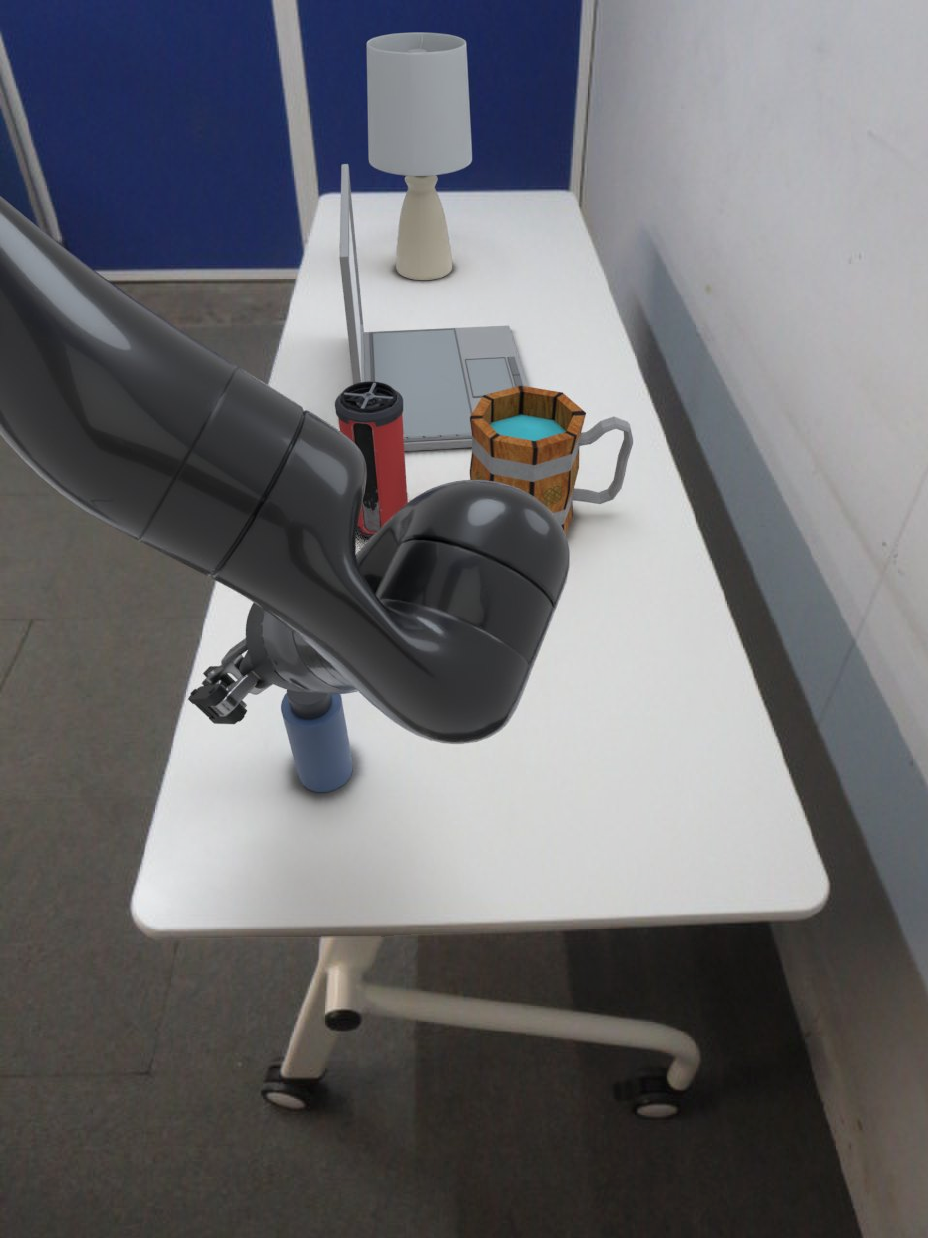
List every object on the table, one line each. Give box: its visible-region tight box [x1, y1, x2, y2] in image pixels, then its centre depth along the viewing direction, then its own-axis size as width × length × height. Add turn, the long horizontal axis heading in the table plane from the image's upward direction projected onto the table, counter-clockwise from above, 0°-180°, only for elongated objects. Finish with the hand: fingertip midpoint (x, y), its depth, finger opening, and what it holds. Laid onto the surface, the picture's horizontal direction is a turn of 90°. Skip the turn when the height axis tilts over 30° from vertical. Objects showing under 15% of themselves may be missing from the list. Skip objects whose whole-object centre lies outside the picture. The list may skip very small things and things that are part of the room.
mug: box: [469, 386, 634, 536], centre depth 98 cm, size 20×14×15 cm
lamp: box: [366, 32, 473, 281], centre depth 145 cm, size 19×19×37 cm
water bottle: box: [280, 689, 354, 793], centre depth 72 cm, size 5×5×12 cm
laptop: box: [338, 163, 529, 452], centre depth 116 cm, size 35×26×27 cm
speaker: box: [334, 381, 409, 538], centre depth 96 cm, size 8×8×18 cm
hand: (256, 639), depth 61 cm, fingers open, 8 cm apart
